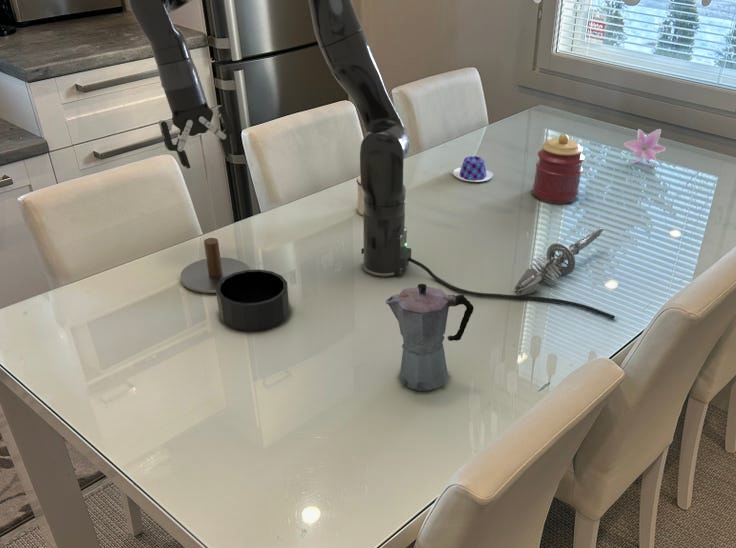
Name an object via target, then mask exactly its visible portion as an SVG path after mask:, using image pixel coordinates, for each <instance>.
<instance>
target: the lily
mask: <svg viewBox="0 0 736 548" xmlns="http://www.w3.org/2000/svg"><path fill="white" fill-rule="evenodd" d="M661 133H662V129H661V128H658V129H655V130H653V131H652V132H649V133H648V134H647V133H645V132H644V131H643V130H642V129H640V128H638V129H637V136H636V138H637V139H632V140H628V141H626V142H624V143H623V146H624V147H625V148H627V149H629V150H631V151H632V152H634V155H633V157H634V156H637V157H643V158H642V159H644V158H645V159H653V160H656V158H657V154H659V153H662V152H665V151H667V149H666V147H664V146H663V145H661V144H659V140H660V136H661ZM639 161H640V160H633V159H632V164H636V163H637V162H639ZM656 161H657V160H656ZM648 165H649V166H651V165H652V164H650V163H648ZM653 166H654V167H655V166H656V164H655V165H652V166H651V167H652V168H654V167H653Z"/></svg>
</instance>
